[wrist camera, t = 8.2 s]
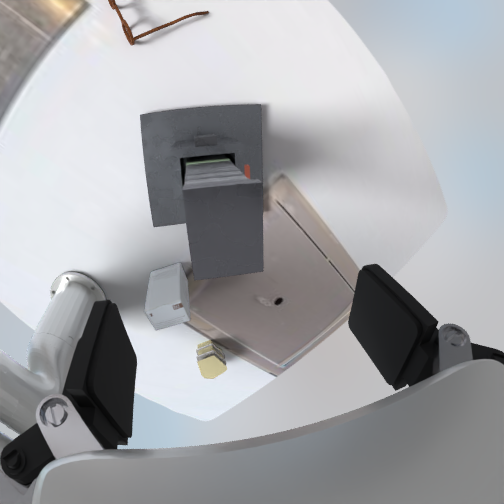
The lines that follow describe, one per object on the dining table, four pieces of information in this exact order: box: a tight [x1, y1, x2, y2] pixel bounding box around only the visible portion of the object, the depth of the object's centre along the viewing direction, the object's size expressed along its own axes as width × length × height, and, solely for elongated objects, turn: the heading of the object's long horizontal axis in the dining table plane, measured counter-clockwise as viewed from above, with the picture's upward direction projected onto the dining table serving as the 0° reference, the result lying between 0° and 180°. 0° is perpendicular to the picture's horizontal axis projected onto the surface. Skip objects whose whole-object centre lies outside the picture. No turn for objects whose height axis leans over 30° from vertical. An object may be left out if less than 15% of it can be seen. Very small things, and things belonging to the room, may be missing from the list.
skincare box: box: [144, 263, 191, 330], centre depth 44 cm, size 6×4×12 cm
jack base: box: [140, 104, 263, 227], centre depth 36 cm, size 18×18×14 cm
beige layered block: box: [196, 340, 227, 379], centre depth 58 cm, size 10×9×6 cm
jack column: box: [182, 154, 263, 280], centre depth 26 cm, size 6×5×21 cm
